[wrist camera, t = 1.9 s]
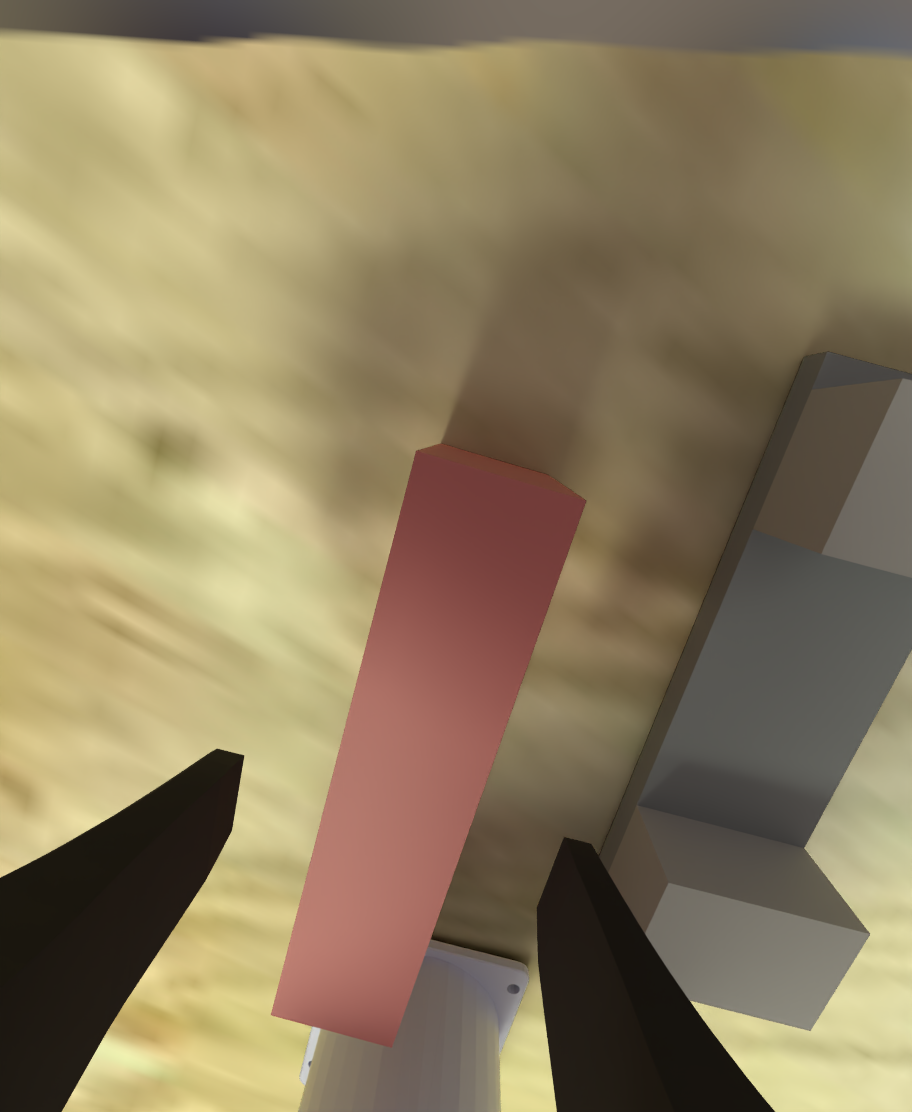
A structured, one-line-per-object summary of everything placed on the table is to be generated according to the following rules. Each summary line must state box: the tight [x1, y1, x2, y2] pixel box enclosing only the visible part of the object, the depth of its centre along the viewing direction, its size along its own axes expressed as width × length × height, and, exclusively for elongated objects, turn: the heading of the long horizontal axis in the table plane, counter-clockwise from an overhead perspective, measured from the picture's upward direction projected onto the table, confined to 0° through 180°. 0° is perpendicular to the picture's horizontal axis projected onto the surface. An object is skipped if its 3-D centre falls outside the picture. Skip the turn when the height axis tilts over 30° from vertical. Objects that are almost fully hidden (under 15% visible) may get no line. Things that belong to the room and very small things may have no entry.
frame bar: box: [271, 444, 586, 1048], centre depth 15 cm, size 16×4×6 cm, turn 164°
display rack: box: [599, 352, 912, 1031], centre depth 15 cm, size 20×6×4 cm, turn 166°
